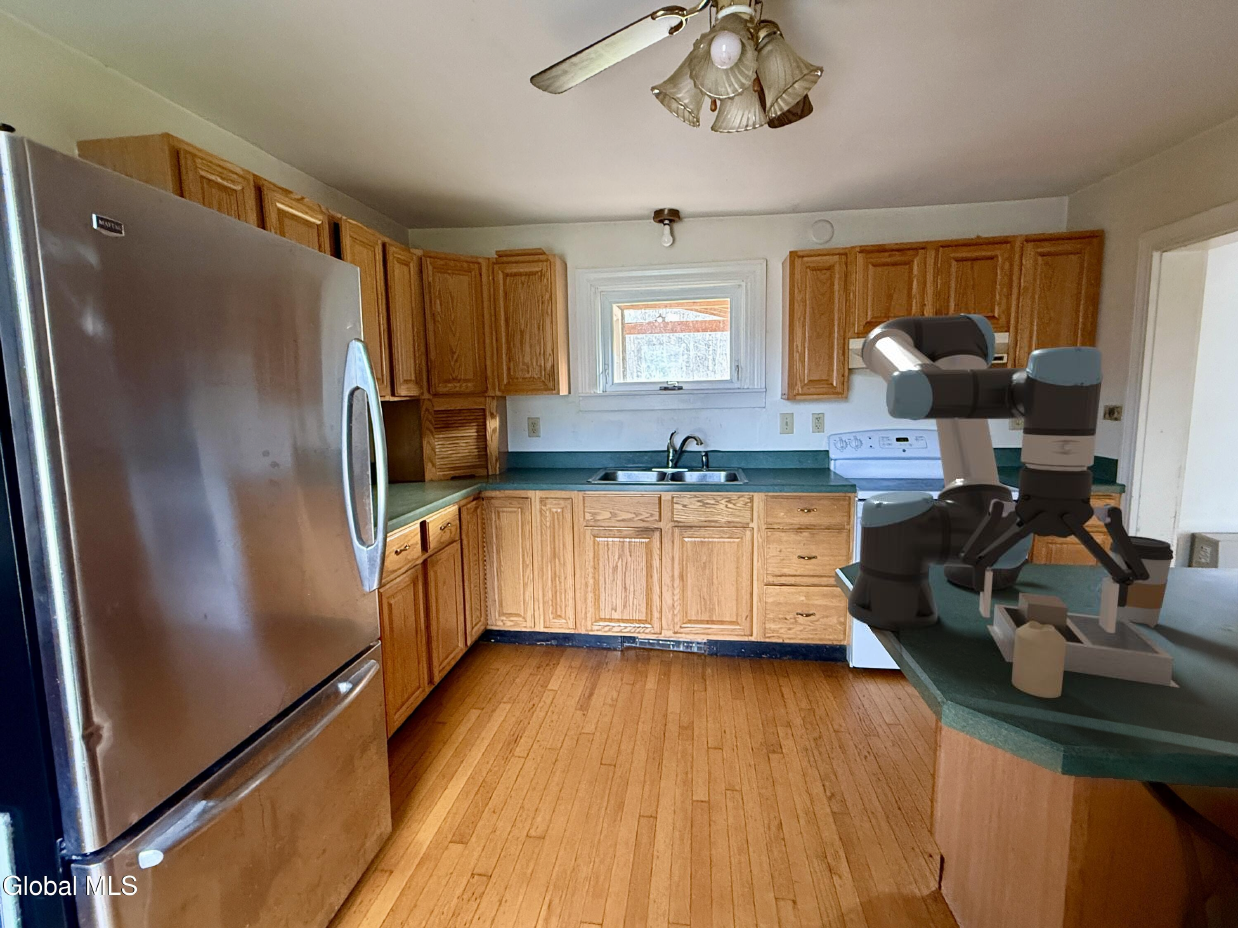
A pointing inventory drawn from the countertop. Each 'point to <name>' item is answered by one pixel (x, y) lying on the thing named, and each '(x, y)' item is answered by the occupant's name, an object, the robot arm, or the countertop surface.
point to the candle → (1038, 660)
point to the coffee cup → (1149, 593)
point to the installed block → (1042, 611)
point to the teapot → (999, 577)
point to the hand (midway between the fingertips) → (1043, 621)
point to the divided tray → (1096, 648)
